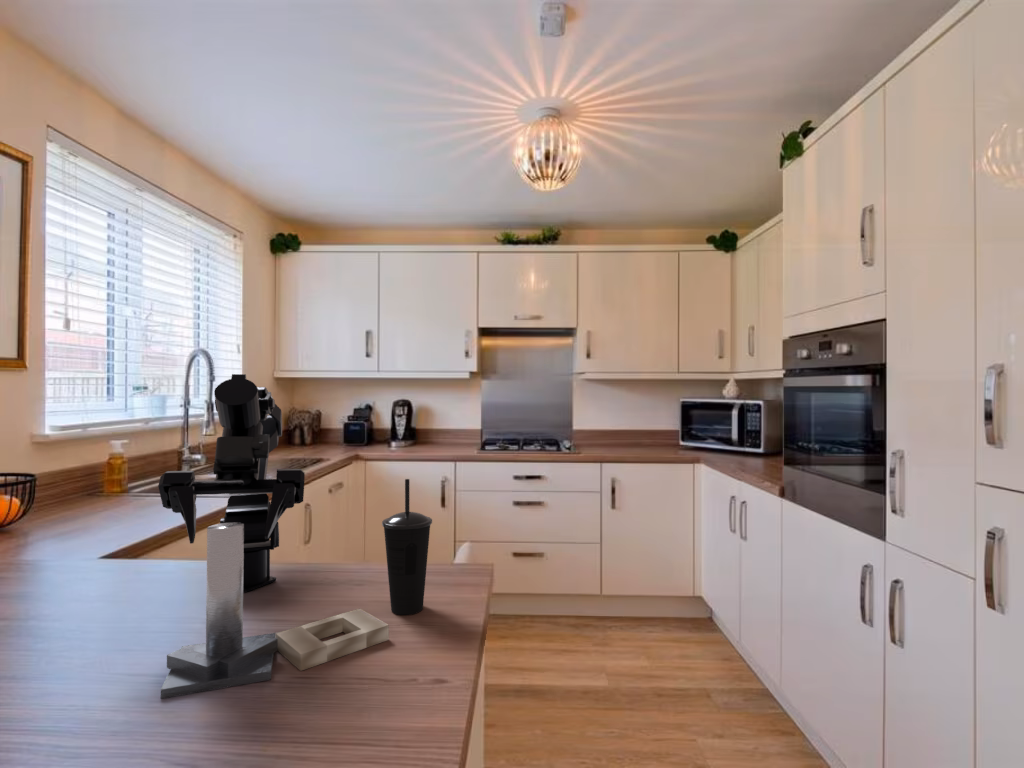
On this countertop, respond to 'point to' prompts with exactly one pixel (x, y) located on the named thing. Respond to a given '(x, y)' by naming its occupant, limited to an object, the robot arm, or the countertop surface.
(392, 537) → the drinking cup
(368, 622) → the beige rectangular frame
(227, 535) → the axle
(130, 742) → the countertop surface
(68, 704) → the countertop surface
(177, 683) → the v block
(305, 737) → the countertop surface
